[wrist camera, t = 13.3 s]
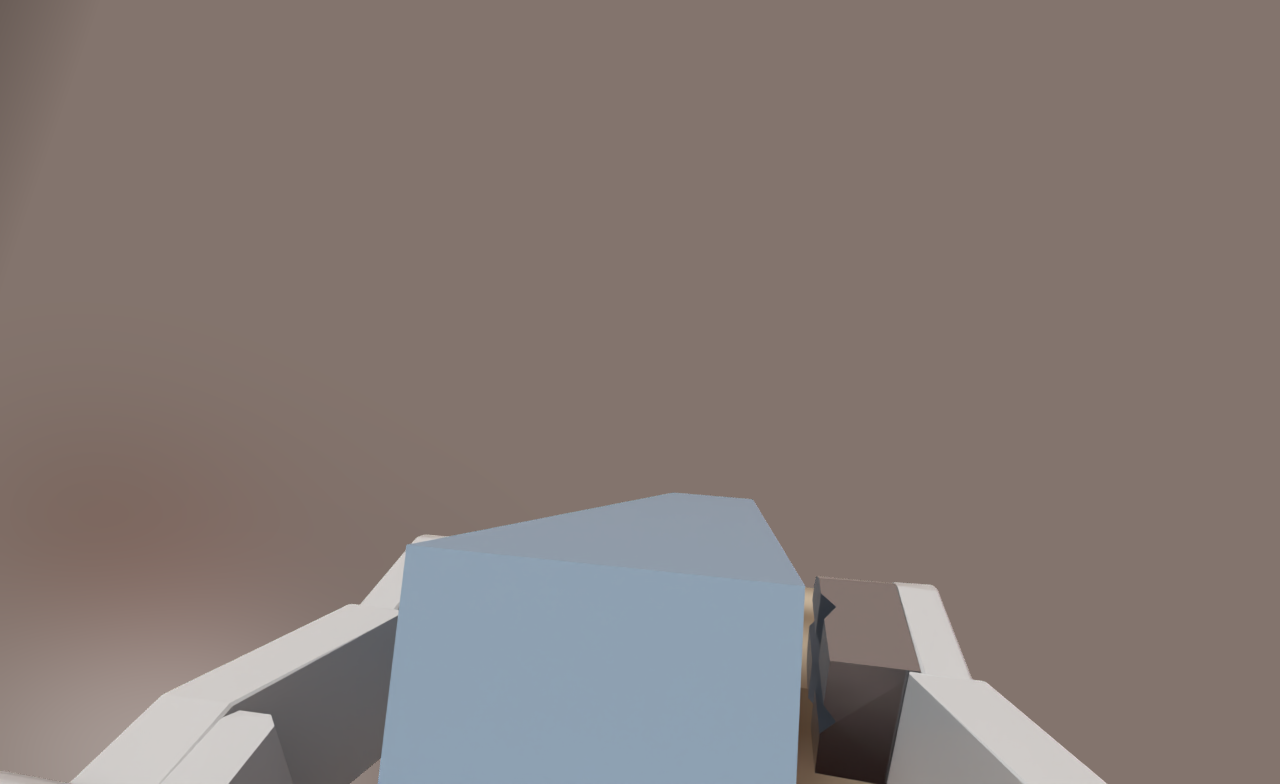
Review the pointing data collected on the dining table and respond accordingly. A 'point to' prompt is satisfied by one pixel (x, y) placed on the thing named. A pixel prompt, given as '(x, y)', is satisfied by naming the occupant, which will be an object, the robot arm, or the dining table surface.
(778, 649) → the block
